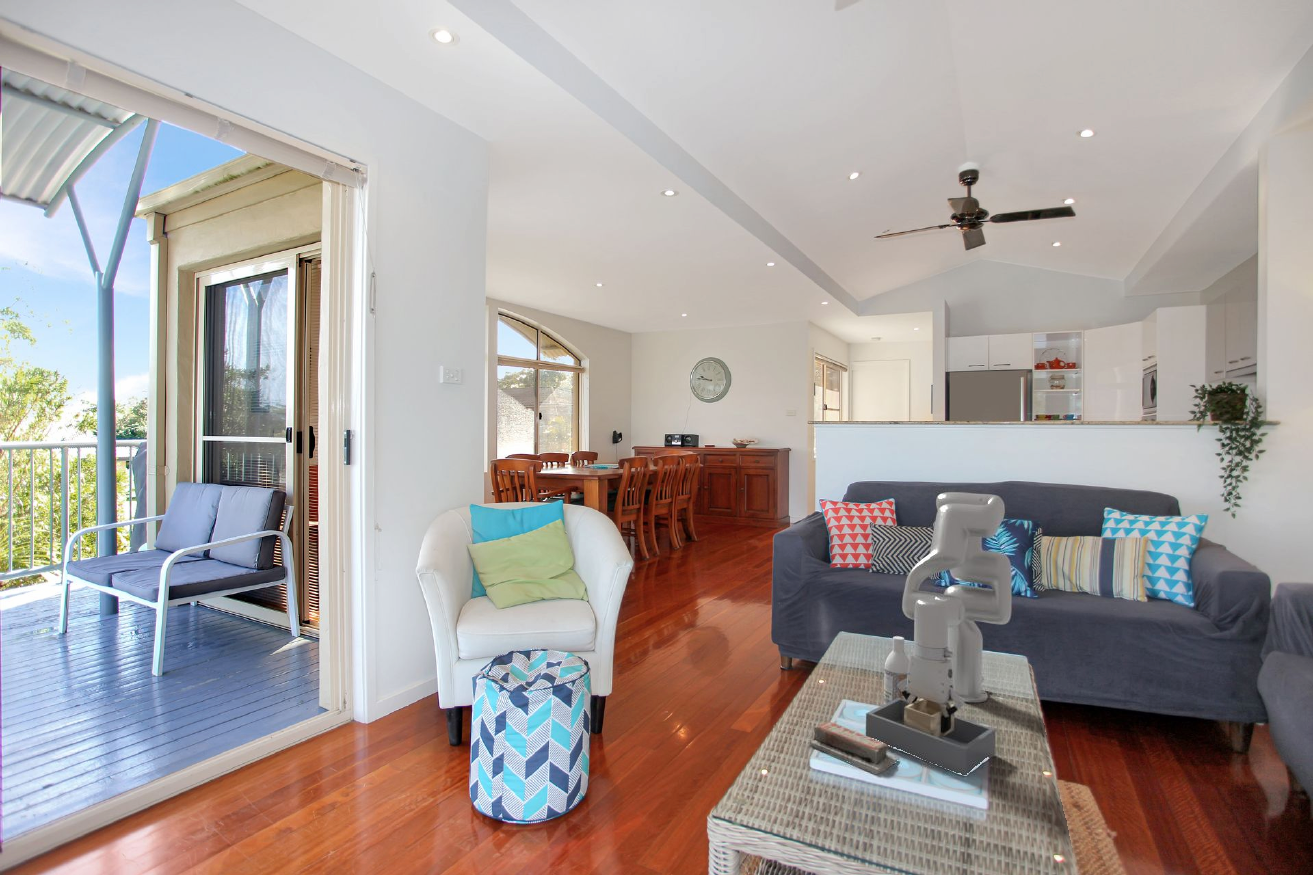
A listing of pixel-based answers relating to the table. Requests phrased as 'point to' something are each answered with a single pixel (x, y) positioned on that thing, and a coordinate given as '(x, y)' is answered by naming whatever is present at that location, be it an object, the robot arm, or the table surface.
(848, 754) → the packaged product
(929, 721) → the pine crate
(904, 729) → the charcoal crate
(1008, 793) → the table surface
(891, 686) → the bath foam
